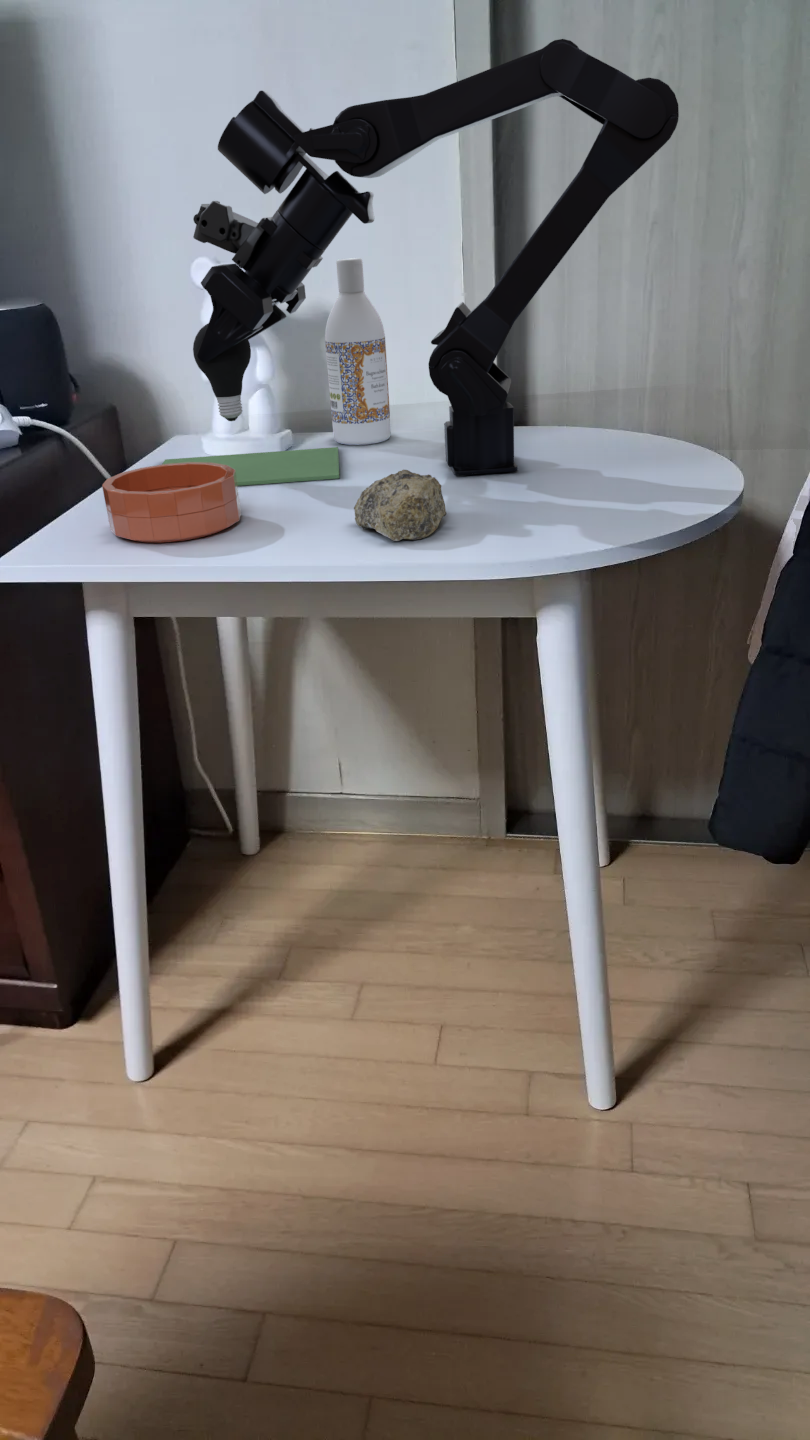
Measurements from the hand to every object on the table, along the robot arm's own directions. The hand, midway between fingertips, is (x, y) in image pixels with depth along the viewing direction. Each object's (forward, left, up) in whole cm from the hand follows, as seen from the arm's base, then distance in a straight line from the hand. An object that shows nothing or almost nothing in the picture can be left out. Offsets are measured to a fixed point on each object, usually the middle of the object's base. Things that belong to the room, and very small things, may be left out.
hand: (210, 355), depth 106 cm
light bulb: (-1, 0, -7) cm, 7 cm away
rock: (-17, +26, -12) cm, 33 cm away
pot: (+3, +20, -12) cm, 23 cm away
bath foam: (-15, -13, -12) cm, 24 cm away
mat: (-2, -1, -12) cm, 13 cm away
